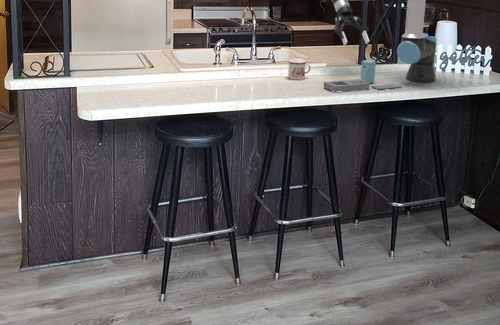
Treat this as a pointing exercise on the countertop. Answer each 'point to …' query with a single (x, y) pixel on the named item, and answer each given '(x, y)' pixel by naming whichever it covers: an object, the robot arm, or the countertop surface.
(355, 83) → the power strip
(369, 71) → the brick
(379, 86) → the phone
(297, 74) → the teacup with lid
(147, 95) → the countertop surface
